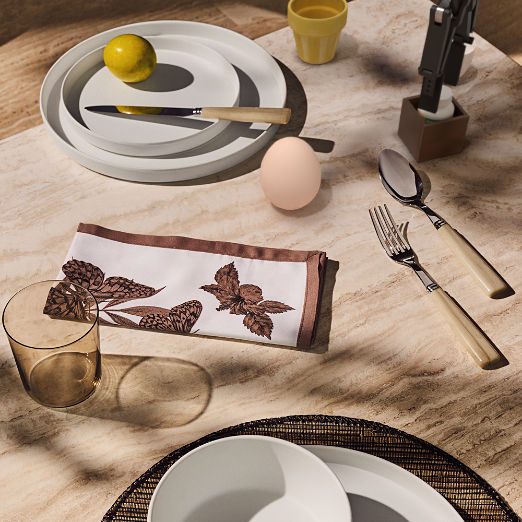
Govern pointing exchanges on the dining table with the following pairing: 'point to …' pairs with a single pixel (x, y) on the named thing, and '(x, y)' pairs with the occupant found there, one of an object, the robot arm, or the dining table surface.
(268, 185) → the egg
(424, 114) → the supplement bottle
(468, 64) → the cup
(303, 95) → the dining table surface
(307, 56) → the flower pot
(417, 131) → the brown square planter
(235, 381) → the dining table surface
